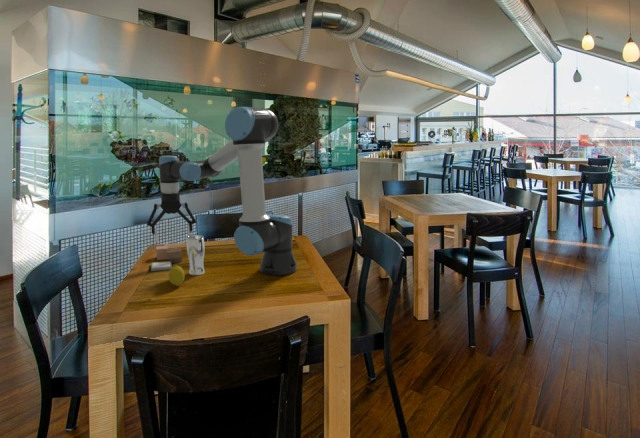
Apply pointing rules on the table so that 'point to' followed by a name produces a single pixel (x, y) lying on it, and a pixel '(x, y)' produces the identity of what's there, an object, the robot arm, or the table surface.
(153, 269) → the slate picture frame
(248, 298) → the table surface
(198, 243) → the beer glass
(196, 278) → the table surface
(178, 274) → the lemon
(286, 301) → the table surface
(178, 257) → the walnut block
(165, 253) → the terracotta cube
